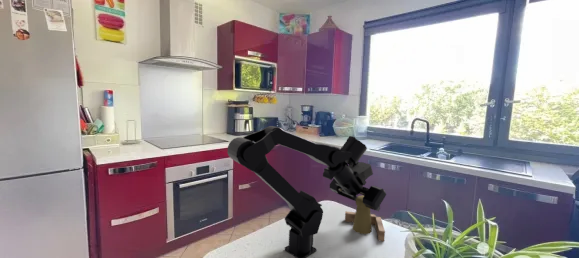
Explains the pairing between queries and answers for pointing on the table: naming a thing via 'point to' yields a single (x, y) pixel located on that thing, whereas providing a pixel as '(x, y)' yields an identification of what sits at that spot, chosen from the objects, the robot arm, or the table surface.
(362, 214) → the olive yellow tapered cone
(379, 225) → the v block
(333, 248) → the table surface
